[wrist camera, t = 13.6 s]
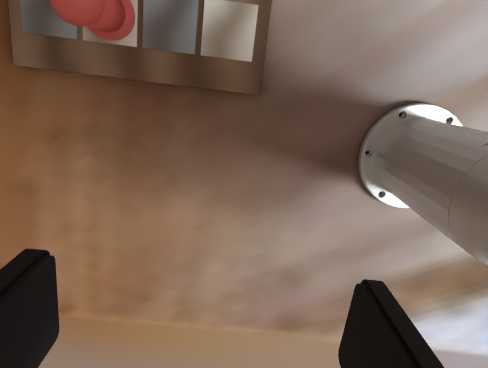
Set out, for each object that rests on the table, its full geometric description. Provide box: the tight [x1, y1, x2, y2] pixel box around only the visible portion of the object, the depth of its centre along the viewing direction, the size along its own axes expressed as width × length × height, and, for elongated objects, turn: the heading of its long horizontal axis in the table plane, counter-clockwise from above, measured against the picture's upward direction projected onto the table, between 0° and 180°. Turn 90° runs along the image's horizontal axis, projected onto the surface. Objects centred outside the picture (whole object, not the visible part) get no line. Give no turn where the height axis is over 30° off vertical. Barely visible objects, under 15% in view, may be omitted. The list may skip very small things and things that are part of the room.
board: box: [8, 0, 272, 95], centre depth 35 cm, size 26×12×1 cm, turn 83°
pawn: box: [49, 0, 135, 41], centre depth 29 cm, size 5×5×10 cm
